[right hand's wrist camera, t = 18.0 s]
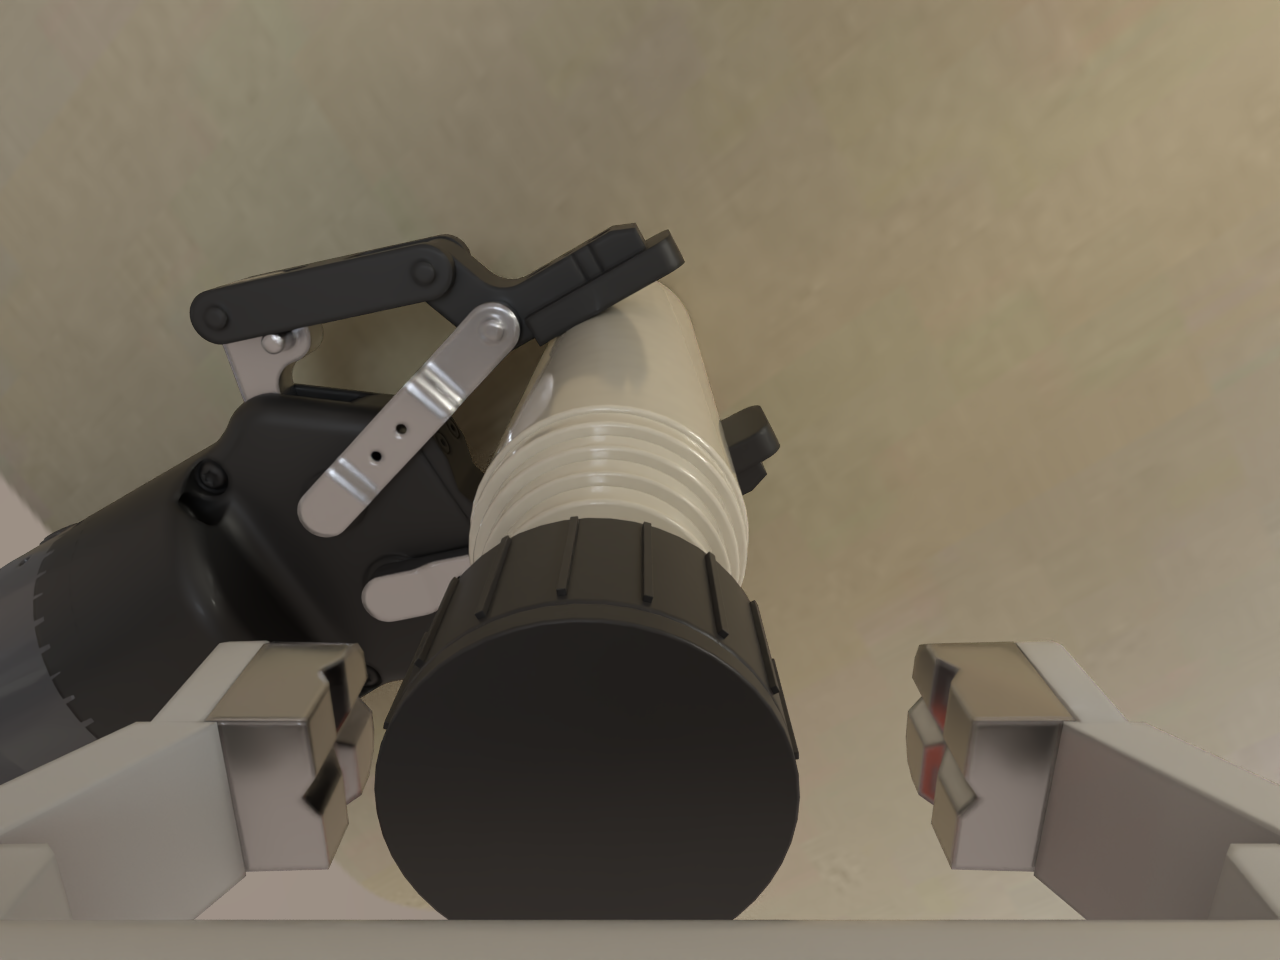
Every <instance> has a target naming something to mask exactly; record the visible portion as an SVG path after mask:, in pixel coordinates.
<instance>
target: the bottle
mask: <svg viewBox="0 0 1280 960" xmlns="http://www.w3.org/2000/svg"><path fill="white" fill-rule="evenodd" d="M573 516H578V519H581V518H612V519H619V520H626V521H633V522H638V523H641V524H643V523H644V522H648V523H651V526H652V527H656V528H659V529H662V530H664V531H666V532H669V533H671V534H674V535H676V536H679V537H681V538H682V539H684V540H686V541H688V542H689V543H691V544H693V545H695V546H697V547H698V548H700V549H701V550H703V551H704V552H705V553H708V552H709V551H710V552H711V553H712V554H714V555H715V559H716V561H717V562H718V563H719V564H720V565H721V566H722V567H723V568H724V569H725V570H726V571H727V572H728V573H729V574H730V575H731V576H732V577H733V578H734V579H735V580H736V582H737V583H738V584H739V586H740V587H741V586H742V583H743V579H744V576H745V571H746V564H747V550H748V543H749V525H748V518H747V511H746V506H745V503H744V499H743V496H742V493H741V489H740V486H739V482H738V479H737V476H736V472H735V469H734V465H733V462H732V458H731V455H730V452H729V448H728V445H727V441H726V438H725V435H724V431H723V428H722V424H721V421H720V417H719V414H718V411H717V407H716V404H715V400H714V397H713V394H712V390H711V387H710V383H709V380H708V376H707V373H706V370H705V366H704V363H703V359H702V356H701V353H700V349H699V346H698V342H697V339H696V336H695V332H694V329H693V325H692V322H691V319H690V316H689V314H688V312H687V310H686V308H685V307H684V305H683V303H682V302H681V301H680V299H679V298H678V297H677V296H676V295H675V294H674V293H673V292H672V291H671V290H670V289H669V288H667V287H666V286H665V285H663V284H662V283H660V282H658V281H655V282H654V283H652V284H650V285H648V286H646V287H645V288H643V289H641V290H639V291H638V292H636V293H634V294H632V295H630V296H629V297H627V298H625V299H623V300H622V301H620V302H618V303H616V304H614V305H613V306H611V307H609V308H607V309H606V310H604V311H602V312H600V313H598V314H597V315H595V316H593V317H591V318H590V319H588V320H586V321H584V322H582V323H580V324H578V325H576V326H574V327H572V328H571V329H569V330H568V331H566V332H565V333H563V334H561V335H559V336H558V337H556V338H554V339H552V340H551V341H549V342H548V344H547V346H546V349H545V351H544V353H543V355H542V357H541V359H540V361H539V363H538V365H537V367H536V369H535V371H534V373H533V375H532V377H531V379H530V381H529V383H528V386H527V388H526V390H525V392H524V394H523V396H522V398H521V400H520V402H519V404H518V406H517V408H516V410H515V412H514V414H513V416H512V418H511V420H510V422H509V425H508V427H507V429H506V431H505V433H504V435H503V437H502V439H501V441H500V443H499V445H498V447H497V449H496V451H495V453H494V455H493V457H492V459H491V461H490V464H489V466H488V468H487V470H486V472H485V474H484V476H483V478H482V480H481V482H480V484H479V486H478V489H477V492H476V495H475V498H474V501H473V506H472V512H471V518H470V532H469V560H470V566H471V565H472V564H473V563H474V562H475V561H476V560H477V559H479V558H480V557H481V556H482V555H483V554H485V553H486V552H488V551H489V550H491V549H492V548H494V547H495V546H496V545H498V544H499V543H500V542H501V539H502V538H503V537H505V536H507V535H508V536H509V537H510V538H511V537H513V536H515V535H517V534H519V533H521V532H524V531H527V530H530V529H532V528H535V527H538V526H541V525H545V524H549V523H554V522H558V521H563V520H570V517H573Z"/></svg>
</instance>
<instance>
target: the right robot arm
mask: <svg viewBox="0 0 1280 960" xmlns="http://www.w3.org/2000/svg"><path fill="white" fill-rule="evenodd" d="M367 678H368V675H367V669H366V663H365V656H364V651H363V650H362V649H361V647H360V646H359V644H358V643H328V642H275V641H273V642H269V641H229V642H224V643H219V644H218V645H217V647H216V648H215V649H214V650H213V651H212V652H211V653H210V655H209V656H208V657H207V658H206V659H205V660H204V661H203V663H202V664H201V665H200V666H199V667H198V668H197V669H196V671H195V672H194V673H193V674H192V675H191V676H190V677H189V679H188V680H187V681H186V682H185V683H184V684H183V685H182V687H181V688H180V689H179V690H178V691H177V692H176V693H175V695H174V696H173V697H172V698H171V699H170V700H169V701H168V703H167V704H166V705H165V706H164V707H163V708H162V709H161V711H160V712H159V713H158V714H157V715H156V716H155V717H154V719H153V720H152V721H151V722H135V723H133V724H130V725H128V726H126V727H124V728H122V729H120V730H118V731H115V732H113V733H111V734H109V735H107V736H105V737H103V738H100V739H98V740H96V741H94V742H92V743H90V744H87V745H85V746H83V747H81V748H79V749H77V750H75V751H72V752H70V753H68V754H66V755H64V756H62V757H60V758H57V759H55V760H53V761H51V762H49V763H47V764H45V765H42V766H40V767H38V768H36V769H34V770H32V771H30V772H27V773H25V774H23V775H21V776H19V777H17V778H15V779H12V780H10V781H8V782H6V783H4V784H2V785H0V960H1280V785H1278V784H1276V783H1274V782H1272V781H1269V780H1267V779H1265V778H1263V777H1261V776H1259V775H1257V774H1254V773H1252V772H1250V771H1248V770H1246V769H1244V768H1242V767H1239V766H1237V765H1235V764H1233V763H1231V762H1229V761H1227V760H1224V759H1222V758H1220V757H1218V756H1216V755H1214V754H1212V753H1210V752H1207V751H1205V750H1203V749H1201V748H1199V747H1197V746H1195V745H1192V744H1190V743H1188V742H1186V741H1184V740H1182V739H1180V738H1177V737H1175V736H1173V735H1171V734H1169V733H1167V732H1165V731H1162V730H1160V729H1158V728H1156V727H1154V726H1152V725H1150V724H1147V723H1145V722H1129V721H1128V720H1127V719H1126V717H1125V716H1124V715H1123V714H1122V713H1121V712H1120V711H1119V709H1118V708H1117V707H1116V706H1115V705H1114V704H1113V703H1112V701H1111V700H1110V699H1109V698H1108V697H1107V696H1106V695H1105V693H1104V692H1103V691H1102V690H1101V689H1100V688H1099V687H1098V685H1097V684H1096V683H1095V682H1094V681H1093V680H1092V679H1091V677H1090V676H1089V675H1088V674H1087V673H1086V672H1085V671H1084V669H1083V668H1082V667H1081V666H1080V665H1079V664H1078V663H1077V661H1076V660H1075V659H1074V658H1073V657H1072V656H1071V655H1070V653H1069V652H1068V651H1067V650H1066V649H1065V648H1064V647H1063V645H1062V644H1059V643H1057V642H1054V641H1052V640H1048V641H1024V642H980V643H939V644H923V645H919V648H918V650H917V653H916V656H915V661H914V668H913V675H912V678H913V680H914V682H915V684H916V686H917V688H918V690H919V692H920V694H921V696H922V697H921V698H920V699H919V700H918V701H917V702H916V703H915V704H914V705H913V706H912V707H911V709H910V710H909V711H908V718H907V729H906V746H907V760H908V765H909V769H910V773H911V777H912V780H913V782H914V785H915V787H916V790H917V792H918V794H919V795H920V796H921V797H923V798H924V799H925V800H927V801H928V802H930V803H931V804H933V813H932V821H931V824H932V827H933V829H934V831H935V833H936V835H937V838H938V840H939V842H940V844H941V847H942V849H943V851H944V853H945V856H946V858H947V860H948V862H949V865H950V867H951V869H958V870H995V871H1031V872H1034V876H1035V877H1036V878H1038V879H1039V880H1040V881H1041V882H1042V883H1044V884H1045V885H1046V886H1047V887H1048V888H1049V889H1051V890H1052V891H1053V892H1054V893H1055V894H1057V895H1058V896H1059V897H1060V898H1061V899H1063V900H1064V901H1065V902H1066V903H1067V904H1069V905H1070V906H1071V907H1072V908H1073V909H1074V910H1076V911H1077V912H1078V913H1079V914H1080V915H1082V916H1083V917H1084V918H1085V919H1086V920H194V919H195V918H196V917H198V916H199V915H200V914H201V913H202V912H203V911H205V910H206V909H207V908H208V907H210V906H211V905H212V904H213V903H214V902H215V901H217V900H218V899H219V898H220V897H221V896H223V895H224V894H225V893H226V892H227V891H228V890H230V889H231V888H232V887H233V886H234V885H236V884H237V883H238V882H239V881H240V880H242V879H243V878H244V877H245V876H246V872H249V871H283V870H319V869H329V867H330V865H331V863H332V860H333V858H334V856H335V854H336V851H337V849H338V847H339V845H340V842H341V840H342V838H343V836H344V833H345V831H346V829H347V827H348V824H349V821H348V813H347V804H349V803H350V802H352V801H353V800H355V799H356V798H357V797H359V796H360V795H361V794H362V792H363V790H364V787H365V785H366V782H367V780H368V777H369V773H370V768H371V763H372V757H373V752H374V726H373V716H372V711H371V710H370V709H369V707H368V706H367V705H366V704H365V703H364V702H363V701H362V700H361V699H360V698H359V697H358V696H359V694H360V692H361V690H362V688H363V686H364V684H365V682H366V680H367Z"/></svg>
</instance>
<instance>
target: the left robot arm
mask: <svg viewBox="0 0 1280 960" xmlns="http://www.w3.org/2000/svg"><path fill="white" fill-rule="evenodd" d="M684 262H685V261H684V259H683V257H682V255H681V253H680V251H679V249H678V247H677V245H676V243H675V241H674V239H673V237H672V236H671V234H670V232H669V230H665V231H663V232H661V233H659V234H657V235H655V236H653V237H651V238H649V239H648V240H646V241H645V240H644V238H643V236H642V234H641V232H640V230H639V229H638V227H637V225H636V223H631V224H623V225H616V226H612V227H610V228H608V229H606V230H605V231H603V232H601V233H600V234H598V235H596V236H594V237H593V238H591V239H589V240H588V241H586V242H584V243H582V244H581V245H579V246H577V247H576V248H574V249H572V250H570V251H569V252H567V253H565V254H563V255H562V256H560V257H558V258H556V259H555V260H553V261H551V262H550V263H548V264H546V265H544V266H543V267H541V268H539V269H538V270H536V271H534V272H532V273H531V274H529V275H527V276H525V277H522V278H519V279H505V278H501V277H498V276H496V275H495V274H493V273H492V272H490V271H489V270H488V269H486V268H485V267H484V266H483V265H482V264H481V263H479V262H478V261H477V260H476V259H475V258H473V257H472V256H471V254H470V251H469V249H468V247H467V246H466V245H465V243H464V242H463V241H462V240H460V239H459V238H457V237H455V236H452V235H446V234H444V235H438V236H433V237H428V238H424V239H419V240H415V241H410V242H406V243H401V244H397V245H392V246H388V247H383V248H378V249H374V250H369V251H365V252H360V253H356V254H351V255H347V256H342V257H338V258H333V259H328V260H324V261H319V262H315V263H310V264H306V265H301V266H297V267H292V268H288V269H283V270H278V271H274V272H269V273H265V274H260V275H256V276H252V277H248V278H245V279H242V280H239V281H235V282H232V283H229V284H226V285H223V286H220V287H217V288H214V289H211V290H208V291H204V292H202V293H200V294H199V295H197V296H196V297H195V299H194V300H193V302H192V304H191V307H190V319H191V322H192V325H193V327H194V329H195V330H196V331H197V333H198V334H199V335H200V336H201V337H202V338H204V339H205V340H207V341H209V342H211V343H214V344H223V347H224V350H225V352H226V355H227V358H228V360H229V363H230V365H231V368H232V371H233V373H234V376H235V379H236V381H237V384H238V387H239V389H240V392H241V395H242V397H243V400H244V403H243V404H242V405H241V406H240V407H239V408H238V409H237V410H236V411H235V412H234V414H233V415H232V417H231V419H230V421H229V424H228V426H227V428H226V430H225V432H224V433H223V435H222V436H221V438H220V439H219V440H218V441H217V442H216V443H214V444H213V445H211V446H209V447H208V448H206V449H204V450H202V451H201V452H199V453H197V454H196V455H194V456H192V457H190V458H189V459H187V460H185V461H184V462H182V463H180V464H178V465H177V466H175V467H173V468H172V469H170V470H168V471H166V472H165V473H163V474H161V475H160V476H158V477H156V478H154V479H153V480H151V481H149V482H148V483H146V484H144V485H142V486H141V487H139V488H137V489H136V490H134V491H132V492H130V493H129V494H127V495H125V496H124V497H122V498H120V499H118V500H117V501H115V502H113V503H111V504H110V505H108V506H106V507H105V508H103V509H101V510H99V511H98V512H96V513H94V514H93V515H91V516H89V517H88V518H86V519H85V520H83V521H81V522H79V523H76V524H73V525H70V526H67V527H65V528H62V529H60V530H58V531H56V532H54V533H52V534H50V535H49V536H47V537H46V538H45V539H44V541H42V542H41V543H40V545H39V546H38V547H36V548H34V549H33V550H31V551H29V552H27V553H26V554H24V555H22V556H21V557H19V558H17V559H15V560H13V561H12V562H10V563H8V564H7V565H5V566H4V567H2V568H1V569H0V785H2V784H4V783H6V782H8V781H10V780H12V779H15V778H17V777H19V776H21V775H23V774H25V773H27V772H30V771H32V770H34V769H36V768H38V767H40V766H42V765H45V764H47V763H49V762H51V761H53V760H55V759H57V758H60V757H62V756H64V755H66V754H68V753H70V752H72V751H75V750H77V749H79V748H81V747H83V746H85V745H87V744H90V743H92V742H94V741H96V740H98V739H100V738H103V737H105V736H107V735H109V734H111V733H113V732H115V731H118V730H120V729H122V728H124V727H126V726H128V725H130V724H133V723H135V722H151V721H152V720H153V719H154V717H155V716H156V715H157V714H158V713H159V712H160V711H161V709H162V708H163V707H164V706H165V705H166V704H167V703H168V701H169V700H170V699H171V698H172V697H173V696H174V695H175V693H176V692H177V691H178V690H179V689H180V688H181V687H182V685H183V684H184V683H185V682H186V681H187V680H188V679H189V677H190V676H191V675H192V674H193V673H194V672H195V671H196V669H197V668H198V667H199V666H200V665H201V664H202V663H203V661H204V660H205V659H206V658H207V657H208V656H209V655H210V653H211V652H212V651H213V650H214V649H215V648H216V647H217V645H218V644H219V643H224V642H229V641H269V642H273V641H275V642H328V643H358V644H359V646H360V647H361V649H362V650H363V651H364V656H365V663H366V669H367V675H368V678H367V680H366V682H365V684H364V686H363V688H362V690H361V692H360V694H359V696H358V697H359V698H361V697H363V696H365V695H366V694H368V693H369V692H371V691H373V690H374V689H376V688H378V687H379V686H381V685H383V684H386V683H388V682H392V681H397V680H404V678H405V675H406V673H407V671H408V669H409V667H410V664H411V662H412V660H413V658H414V655H415V653H416V651H417V649H418V647H419V644H420V642H421V640H422V638H423V635H424V633H425V632H428V630H429V628H430V626H431V624H432V621H433V619H434V617H435V615H436V612H437V610H438V608H439V606H440V603H441V601H442V599H443V597H444V594H445V592H446V590H447V588H448V585H449V583H450V581H451V580H452V579H453V577H456V578H458V579H459V578H460V577H461V575H462V574H463V573H464V572H465V571H466V570H467V569H468V568H469V567H470V560H469V532H470V518H471V512H472V506H473V501H474V498H475V495H476V492H477V489H478V486H479V484H480V482H481V480H482V478H483V476H484V473H482V472H481V471H480V470H479V469H478V468H477V467H476V466H475V465H474V464H473V462H472V459H471V456H470V453H469V450H468V447H467V444H466V441H465V438H464V435H463V433H462V432H461V430H460V429H459V427H458V426H457V424H456V423H455V421H454V420H453V418H452V417H451V415H452V414H453V413H454V412H455V411H456V410H457V408H458V407H459V406H460V405H461V404H462V403H463V401H464V400H465V399H466V398H467V397H468V396H469V395H470V394H471V393H472V392H473V391H474V390H475V388H476V387H477V386H478V385H479V384H480V383H481V382H482V381H483V380H484V379H485V378H486V377H487V376H488V375H489V374H490V373H491V371H492V370H493V369H494V368H495V367H496V366H497V365H498V364H499V363H500V362H501V361H502V360H503V359H504V358H505V357H506V355H507V354H508V353H509V352H510V351H512V350H514V349H516V348H517V347H519V346H521V345H523V344H524V343H526V342H528V341H530V340H532V339H533V338H536V340H537V342H538V343H539V345H540V346H542V345H543V344H545V343H547V342H549V341H551V340H552V339H554V338H556V337H558V336H559V335H561V334H563V333H565V332H566V331H568V330H569V329H571V328H572V327H574V326H576V325H578V324H580V323H582V322H584V321H586V320H588V319H590V318H591V317H593V316H595V315H597V314H598V313H600V312H602V311H604V310H606V309H607V308H609V307H611V306H613V305H614V304H616V303H618V302H620V301H622V300H623V299H625V298H627V297H629V296H630V295H632V294H634V293H636V292H638V291H639V290H641V289H643V288H645V287H646V286H648V285H650V284H652V283H654V282H655V281H657V280H659V279H661V278H662V277H664V276H666V275H668V274H669V273H671V272H673V271H674V270H676V269H677V268H679V267H680V266H681V265H683V264H684ZM420 302H426V303H428V304H429V305H430V306H431V307H433V308H434V309H435V310H436V311H437V312H439V313H440V314H441V315H442V316H444V317H445V318H446V319H447V320H449V321H450V322H451V323H452V324H453V325H455V326H456V327H457V328H456V329H455V330H454V331H453V332H452V334H451V335H450V336H449V337H448V338H447V339H446V340H445V341H444V342H443V343H442V345H441V346H440V347H439V348H438V349H437V350H436V351H435V352H434V353H433V354H432V356H431V357H430V358H429V359H428V360H427V361H426V362H425V363H424V364H423V365H422V366H421V367H420V369H419V370H418V371H417V372H416V373H415V374H414V375H413V376H412V377H411V378H410V379H409V380H408V381H407V382H406V384H405V385H404V386H403V387H402V388H401V389H400V390H399V391H398V392H397V393H396V395H390V394H382V393H373V392H364V391H356V390H347V389H338V388H330V387H321V386H312V385H304V384H295V383H293V379H292V371H293V367H294V365H295V363H296V362H297V361H298V360H300V359H301V358H303V357H305V356H306V355H308V354H310V353H311V352H313V351H315V350H316V349H317V348H318V347H319V345H320V344H321V342H322V339H323V327H322V323H327V322H332V321H336V320H341V319H346V318H350V317H355V316H360V315H364V314H369V313H374V312H378V311H383V310H387V309H392V308H397V307H401V306H406V305H411V304H415V303H420ZM721 424H722V428H723V431H724V435H725V438H726V441H727V445H728V448H729V452H730V455H731V458H732V462H733V465H734V469H735V472H736V476H737V479H738V482H739V486H740V489H741V493H742V495H744V494H746V493H748V492H750V491H752V490H753V489H754V488H755V487H756V486H757V485H758V484H759V482H760V481H761V480H762V479H763V478H764V477H765V476H766V475H767V473H766V471H765V468H764V466H763V463H762V461H764V460H766V459H768V458H769V457H771V456H772V455H773V454H774V453H776V452H777V450H778V449H779V447H780V444H779V442H778V440H777V438H776V436H775V434H774V432H773V430H772V428H771V426H770V424H769V422H768V420H767V418H766V416H765V414H764V412H763V410H762V408H761V407H760V406H758V405H756V406H751V407H748V408H745V409H743V410H741V411H739V412H737V413H735V414H733V415H731V416H730V417H728V418H726V419H724V420H722V421H721Z"/></svg>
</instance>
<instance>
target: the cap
mask: <svg viewBox="0 0 1280 960" xmlns="http://www.w3.org/2000/svg"><path fill="white" fill-rule="evenodd" d="M383 728H384V729H387V730H386V732H385V735H384V737H383V740H382V742H381V746H380V750H379V754H378V759H377V763H376V771H375V788H374V790H375V800H376V810H377V815H378V819H379V823H380V827H381V830H382V834H383V837H384V839H385V842H386V844H387V846H388V849H389V851H390V853H391V855H392V857H393V859H394V861H395V862H396V864H397V866H398V867H399V869H400V870H401V872H402V874H403V875H404V877H405V878H406V879H407V880H408V882H409V883H410V884H411V885H412V886H413V888H414V889H415V890H416V891H417V893H418V894H419V895H420V896H421V897H422V898H423V899H424V900H425V901H427V902H428V903H429V904H430V905H431V906H432V907H433V908H434V909H435V910H436V911H437V912H439V913H440V914H441V915H443V916H444V917H445V918H447V919H448V920H733V919H734V918H736V917H737V916H738V915H739V914H741V913H742V912H743V911H744V910H745V909H746V908H747V907H748V906H749V905H750V904H752V903H753V902H754V901H755V900H756V899H757V897H758V896H759V895H760V894H761V893H762V892H763V890H764V889H765V888H766V887H767V886H768V884H769V883H770V882H771V880H772V879H773V877H774V875H775V874H776V872H777V871H778V869H779V867H780V866H781V864H782V862H783V860H784V858H785V856H786V853H787V851H788V849H789V847H790V844H791V842H792V838H793V835H794V831H795V827H796V823H797V820H798V810H799V801H800V791H799V774H798V770H797V765H796V761H795V760H796V759H799V752H798V748H797V745H796V741H795V737H794V733H793V729H792V725H791V722H790V718H789V714H788V710H787V706H786V702H785V699H784V695H783V691H782V687H781V683H780V679H779V676H778V672H777V668H776V664H775V660H774V659H771V655H770V651H769V647H768V643H767V639H766V635H765V631H764V627H763V623H762V619H761V616H760V612H759V608H758V605H757V603H756V601H755V600H754V601H752V602H750V601H749V599H748V597H747V595H746V594H745V592H744V591H743V590H742V588H741V587H740V586H739V584H738V583H737V582H736V580H735V579H734V578H733V577H732V576H731V575H730V574H729V573H728V572H727V571H726V570H725V569H724V568H723V567H722V566H721V565H720V564H719V563H718V562H717V561H716V559H715V555H714V554H712V553H711V552H710V551H709V552H708V553H705V552H704V551H703V550H701V549H700V548H698V547H697V546H695V545H693V544H691V543H689V542H688V541H686V540H684V539H682V538H681V537H679V536H676V535H674V534H671V533H669V532H666V531H664V530H662V529H659V528H656V527H652V526H651V523H648V522H644V523H643V524H641V523H638V522H633V521H626V520H619V519H612V518H581V519H578V516H573V517H570V520H563V521H558V522H554V523H549V524H545V525H541V526H538V527H535V528H532V529H530V530H527V531H524V532H521V533H519V534H517V535H515V536H513V537H511V538H510V537H509V536H508V535H507V536H505V537H503V538H502V539H501V542H500V543H499V544H498V545H496V546H495V547H494V548H492V549H491V550H489V551H488V552H486V553H485V554H483V555H482V556H481V557H480V558H479V559H477V560H476V561H475V562H474V563H473V564H472V565H471V566H470V567H469V568H468V569H467V570H466V571H465V572H464V573H463V574H462V575H461V577H460V578H459V579H458V578H456V577H453V579H452V580H451V581H450V583H449V585H448V588H447V590H446V592H445V594H444V597H443V599H442V601H441V603H440V606H439V608H438V610H437V612H436V615H435V617H434V619H433V621H432V624H431V626H430V628H429V630H428V632H425V633H424V635H423V638H422V640H421V642H420V644H419V647H418V649H417V651H416V653H415V655H414V658H413V660H412V662H411V664H410V667H409V669H408V671H407V673H406V675H405V678H404V680H403V682H402V684H401V687H400V689H399V691H398V693H397V695H396V698H395V700H394V702H393V704H392V707H391V709H390V711H389V713H388V715H387V718H386V720H385V722H384V727H383Z"/></svg>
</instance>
